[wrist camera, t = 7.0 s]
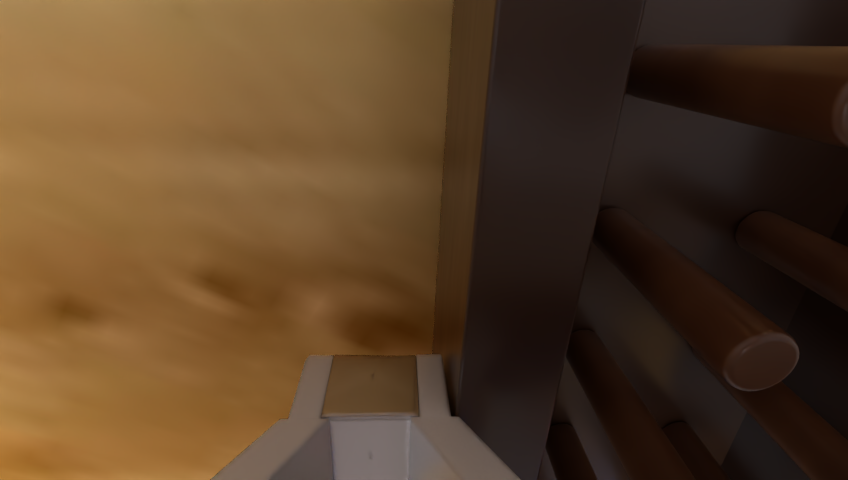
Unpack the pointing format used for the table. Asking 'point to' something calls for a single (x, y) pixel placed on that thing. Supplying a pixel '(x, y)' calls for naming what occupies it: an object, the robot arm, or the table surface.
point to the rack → (648, 237)
